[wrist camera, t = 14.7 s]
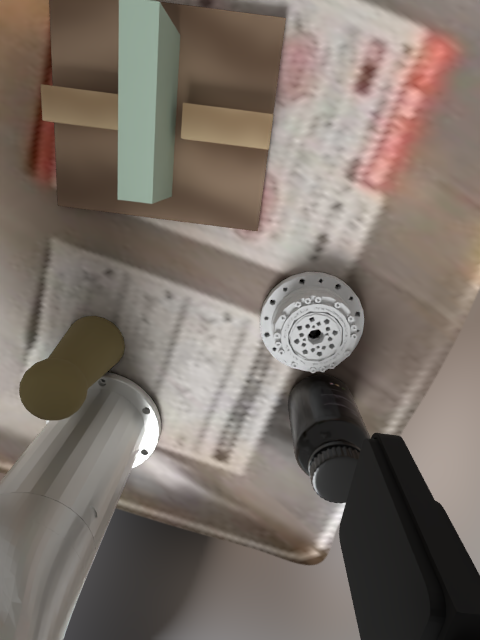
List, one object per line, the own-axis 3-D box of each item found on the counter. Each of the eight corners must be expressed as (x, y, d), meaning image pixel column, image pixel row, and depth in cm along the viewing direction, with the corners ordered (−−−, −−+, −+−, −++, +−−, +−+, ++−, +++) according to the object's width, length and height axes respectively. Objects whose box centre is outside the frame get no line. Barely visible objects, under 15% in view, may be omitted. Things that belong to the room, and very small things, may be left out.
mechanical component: (351, 259, 38) (248, 284, 40) (363, 270, 34) (247, 298, 35) (367, 352, 42) (272, 373, 43) (379, 373, 38) (274, 395, 39)
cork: (136, 341, 42) (96, 399, 32) (103, 379, 44) (55, 445, 34) (88, 304, 41) (30, 351, 31) (56, 344, 43) (-9, 402, 32)
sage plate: (171, 196, 36) (152, 203, 29) (143, 192, 36) (117, 199, 29) (180, 35, 31) (159, 1, 25) (148, 31, 31) (119, -4, 25)
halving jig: (257, 229, 37) (257, 234, 35) (62, 204, 37) (46, 207, 35) (285, 22, 32) (287, 8, 29) (54, -8, 32) (34, -24, 29)
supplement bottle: (334, 435, 45) (359, 524, 34) (277, 414, 44) (283, 499, 33) (363, 384, 43) (400, 463, 32) (303, 362, 42) (319, 434, 31)
